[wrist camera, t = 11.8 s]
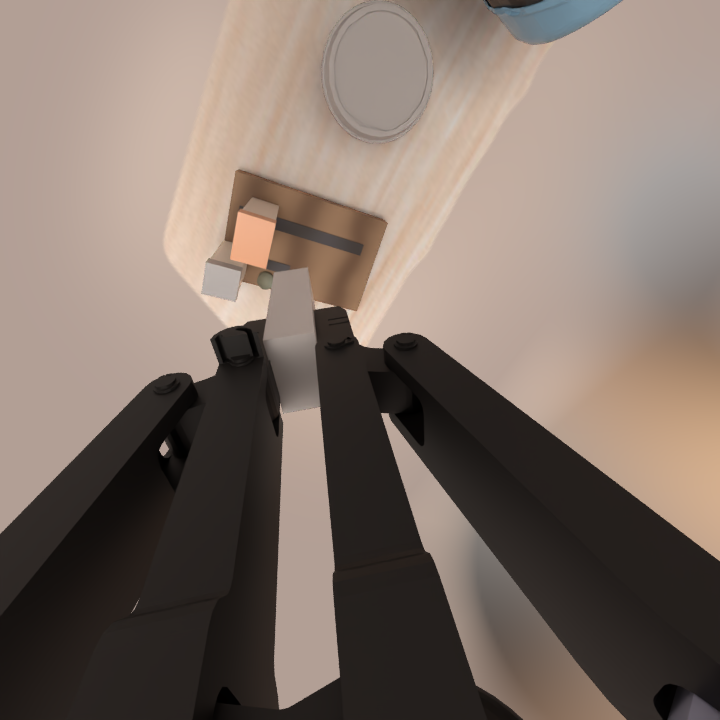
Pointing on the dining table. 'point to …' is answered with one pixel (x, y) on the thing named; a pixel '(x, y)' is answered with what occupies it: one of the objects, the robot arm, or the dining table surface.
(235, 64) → the dining table surface
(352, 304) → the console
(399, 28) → the disposable coffee cup
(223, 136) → the dining table surface
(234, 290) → the grey topped white block
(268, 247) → the orange topped beige block
